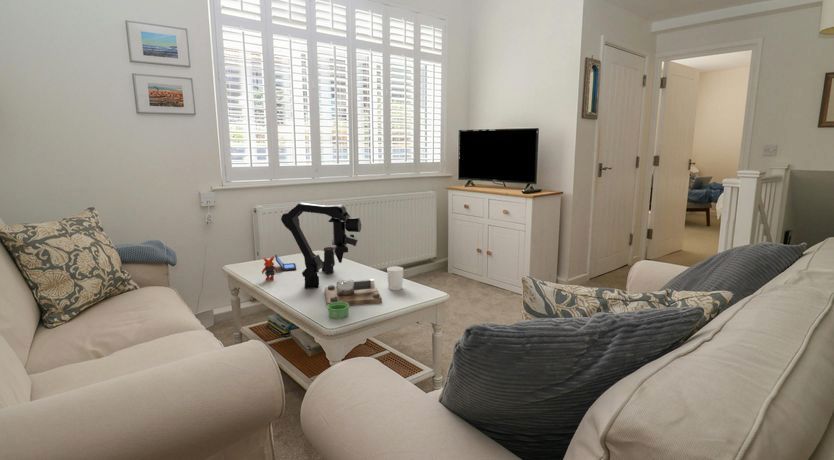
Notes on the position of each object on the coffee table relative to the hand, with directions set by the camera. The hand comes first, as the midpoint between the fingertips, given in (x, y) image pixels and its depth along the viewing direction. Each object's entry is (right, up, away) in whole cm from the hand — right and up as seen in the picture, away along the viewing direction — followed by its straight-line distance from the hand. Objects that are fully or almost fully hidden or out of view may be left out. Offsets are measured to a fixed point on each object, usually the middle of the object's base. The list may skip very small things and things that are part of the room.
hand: (340, 262), depth 219 cm
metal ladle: (+9, -13, -10) cm, 18 cm away
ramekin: (+5, -20, -31) cm, 37 cm away
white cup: (+27, -13, +3) cm, 30 cm away
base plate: (+7, -15, -9) cm, 19 cm away
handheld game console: (-37, -6, +36) cm, 52 cm away
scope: (-11, -8, +28) cm, 31 cm away
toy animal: (-40, -10, +16) cm, 44 cm away
